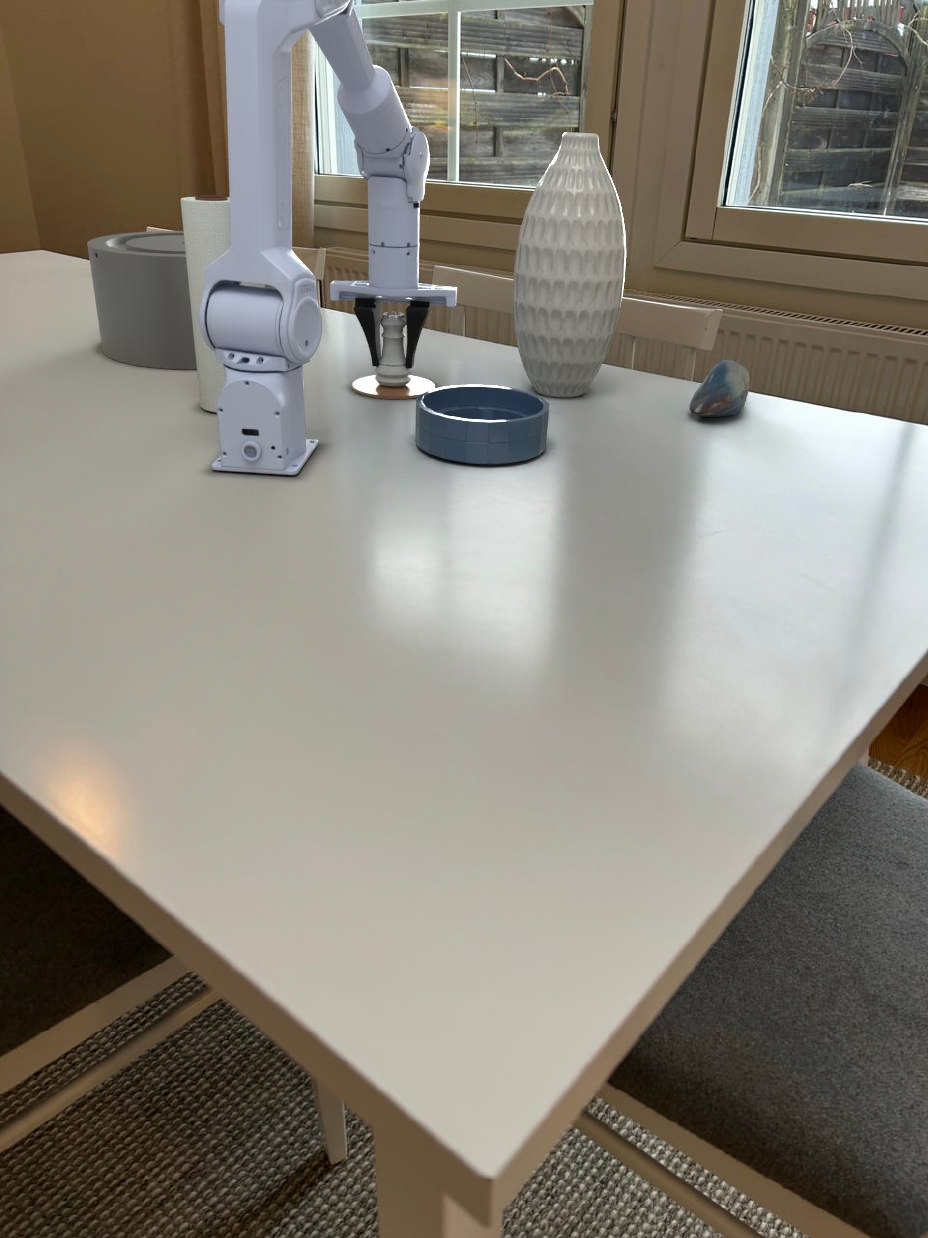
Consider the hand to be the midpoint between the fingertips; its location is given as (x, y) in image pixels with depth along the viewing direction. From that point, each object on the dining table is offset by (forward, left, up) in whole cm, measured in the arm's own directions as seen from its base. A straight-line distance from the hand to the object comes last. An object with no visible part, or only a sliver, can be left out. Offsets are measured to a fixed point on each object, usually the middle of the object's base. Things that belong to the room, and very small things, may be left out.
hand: (393, 365), depth 114 cm
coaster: (0, 0, -3) cm, 3 cm away
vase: (+3, -20, -3) cm, 20 cm away
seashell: (-3, -39, -3) cm, 39 cm away
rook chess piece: (0, 0, -2) cm, 2 cm away
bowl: (-20, -12, -3) cm, 23 cm away
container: (+15, +29, -3) cm, 33 cm away
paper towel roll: (-12, +16, -3) cm, 20 cm away
